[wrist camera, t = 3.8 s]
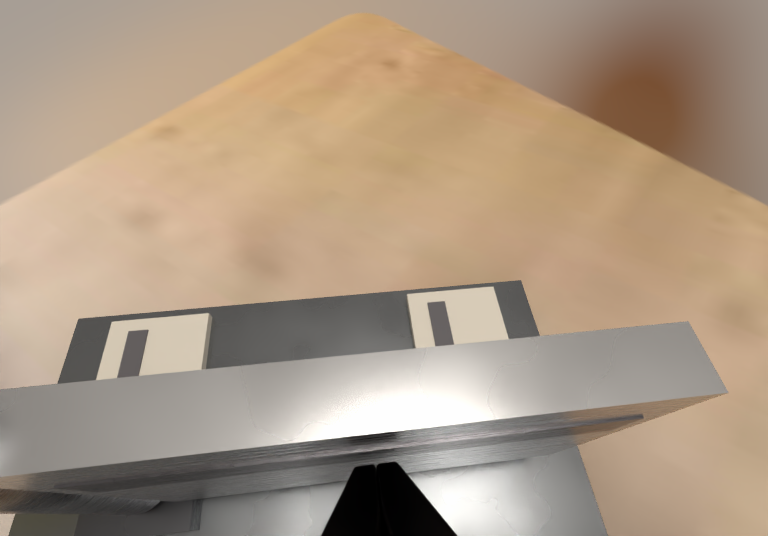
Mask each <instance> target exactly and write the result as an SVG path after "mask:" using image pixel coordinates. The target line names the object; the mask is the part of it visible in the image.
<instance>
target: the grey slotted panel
mask: <svg viewBox="0 0 768 536" xmlns="http://www.w3.org/2000/svg"><path fill="white" fill-rule="evenodd" d="M726 393H728V391H727V389H726V387H725V386H724V384H723V382H722V380H721V378H720V377H719V375H718V373H717V371H716V370H715V368H714V366H713V364H712V363H711V361H710V359H709V357H708V355H707V354H706V352H705V350H704V348H703V347H702V345H701V343H700V341H699V339H698V338H697V336H696V334H695V332H694V331H693V329H692V327H691V325H690V324H689V322H688V321H687V322H677V323H667V324H657V325H647V326H637V327H626V328H616V329H606V330H596V331H586V332H576V333H566V334H556V335H546V336H536V337H526V338H516V339H505V340H495V341H485V342H475V343H465V344H455V345H445V346H435V347H425V348H415V349H405V350H395V351H384V352H374V353H364V354H354V355H344V356H334V357H324V358H314V359H304V360H294V361H284V362H273V363H263V364H253V365H243V366H233V367H223V368H213V369H203V370H193V371H183V372H173V373H163V374H152V375H142V376H132V377H122V378H112V379H102V380H92V381H82V382H72V383H62V384H52V385H42V386H31V387H21V388H11V389H1V390H0V514H97V515H137V514H142V513H145V512H147V511H149V510H150V509H152V508H153V507H155V506H156V505H157V504H158V503H159V502H160V501H169V502H178V501H186V500H194V499H202V498H210V497H218V496H226V495H234V494H242V493H250V492H258V491H266V490H274V489H282V488H290V487H298V486H306V485H314V484H323V483H331V482H339V481H347V480H348V479H349V477H350V475H351V473H352V471H353V469H354V468H355V467H356V466H361V465H370V464H373V465H375V467H376V466H377V465H378V464H379V463H386V462H397V463H398V464H399V465H400V466H401V467H402V468H403V470H404V471H405V472H406V473H411V472H419V471H427V470H435V469H443V468H451V467H459V466H467V465H475V464H483V463H491V462H500V461H508V460H516V459H524V458H532V457H540V456H548V455H552V454H554V453H557V452H560V451H563V450H566V449H569V448H572V447H575V446H577V445H580V444H583V443H586V442H589V441H592V440H595V439H597V438H600V437H603V436H606V435H609V434H612V433H615V432H618V431H620V430H623V429H626V428H629V427H632V426H635V425H638V424H640V423H643V422H646V421H649V420H652V419H655V418H658V417H661V416H663V415H666V414H669V413H672V412H675V411H678V410H681V409H683V408H686V407H689V406H692V405H695V404H698V403H701V402H704V401H706V400H709V399H712V398H715V397H718V396H721V395H724V394H726Z"/></svg>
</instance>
